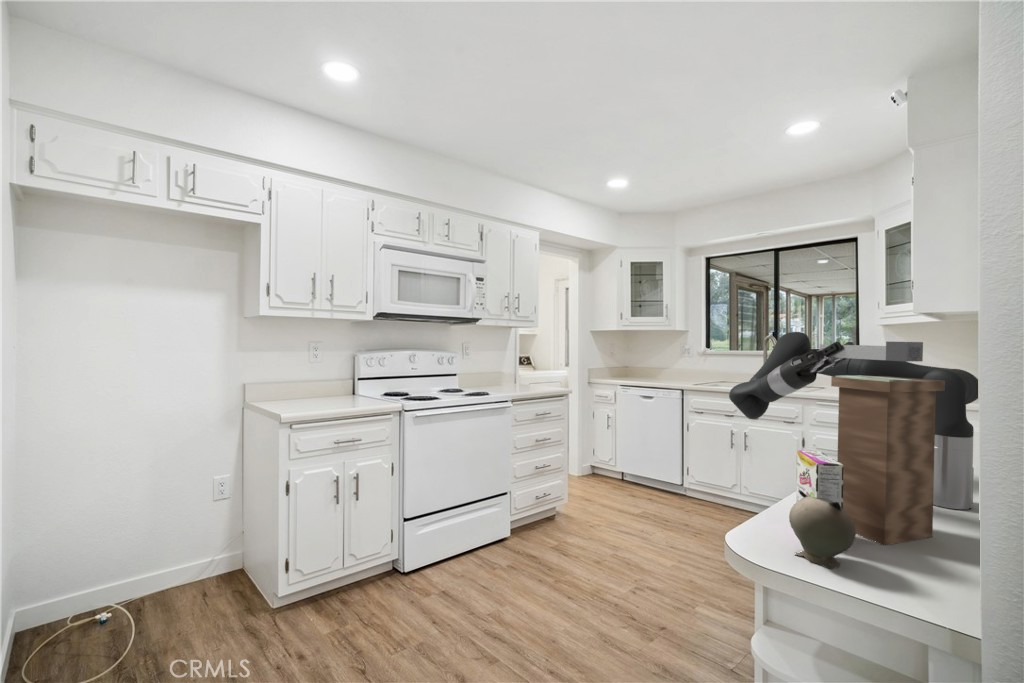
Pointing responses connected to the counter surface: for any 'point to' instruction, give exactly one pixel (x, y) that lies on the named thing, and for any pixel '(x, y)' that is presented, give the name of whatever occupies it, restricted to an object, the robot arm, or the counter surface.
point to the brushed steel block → (882, 351)
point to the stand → (887, 454)
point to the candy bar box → (819, 476)
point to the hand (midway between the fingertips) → (846, 345)
